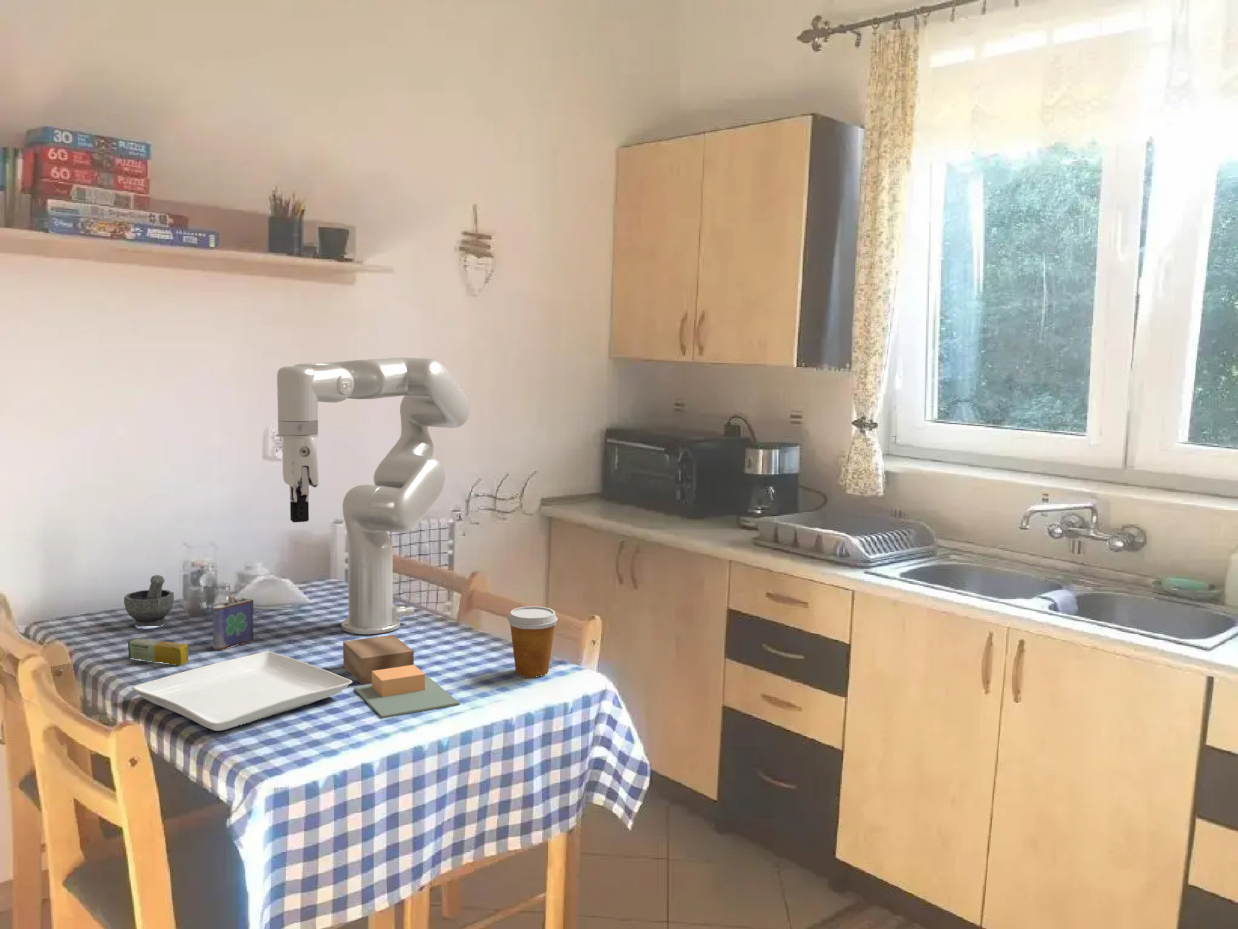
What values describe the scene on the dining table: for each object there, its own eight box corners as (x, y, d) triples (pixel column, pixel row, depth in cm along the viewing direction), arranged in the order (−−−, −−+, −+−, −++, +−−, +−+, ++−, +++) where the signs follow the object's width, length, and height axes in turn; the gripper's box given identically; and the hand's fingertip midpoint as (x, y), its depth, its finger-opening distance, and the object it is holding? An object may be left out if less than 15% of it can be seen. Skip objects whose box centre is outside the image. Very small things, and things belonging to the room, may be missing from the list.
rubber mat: (427, 678, 195) (427, 676, 195) (459, 704, 182) (459, 702, 182) (354, 689, 188) (354, 687, 188) (382, 718, 175) (382, 716, 175)
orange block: (425, 674, 187) (425, 690, 188) (413, 664, 193) (413, 680, 193) (382, 680, 183) (382, 697, 184) (371, 671, 188) (371, 687, 189)
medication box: (127, 661, 202) (126, 641, 202) (137, 657, 205) (136, 637, 204) (180, 667, 199) (179, 647, 199) (189, 663, 202) (188, 643, 201)
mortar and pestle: (119, 624, 226) (117, 571, 225) (162, 617, 233) (161, 564, 231) (139, 635, 218) (137, 580, 217) (183, 627, 225) (181, 573, 224)
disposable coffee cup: (563, 667, 203) (564, 608, 202) (546, 683, 194) (547, 620, 193) (517, 662, 206) (518, 604, 204) (499, 677, 197) (500, 616, 195)
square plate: (268, 667, 201) (267, 648, 200) (355, 700, 184) (355, 679, 184) (129, 704, 180) (129, 682, 179) (214, 745, 163) (213, 721, 163)
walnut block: (393, 659, 206) (393, 634, 206) (413, 676, 196) (413, 651, 196) (343, 666, 201) (343, 641, 201) (361, 684, 191) (361, 658, 190)
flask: (217, 651, 209) (216, 599, 208) (209, 649, 211) (207, 597, 209) (256, 641, 217) (255, 591, 215) (247, 638, 218) (246, 589, 217)
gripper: (327, 432, 199) (328, 526, 201) (307, 425, 212) (309, 514, 214) (287, 433, 195) (289, 529, 197) (269, 426, 208) (271, 516, 210)
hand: (299, 521), depth 206 cm, fingers closed
